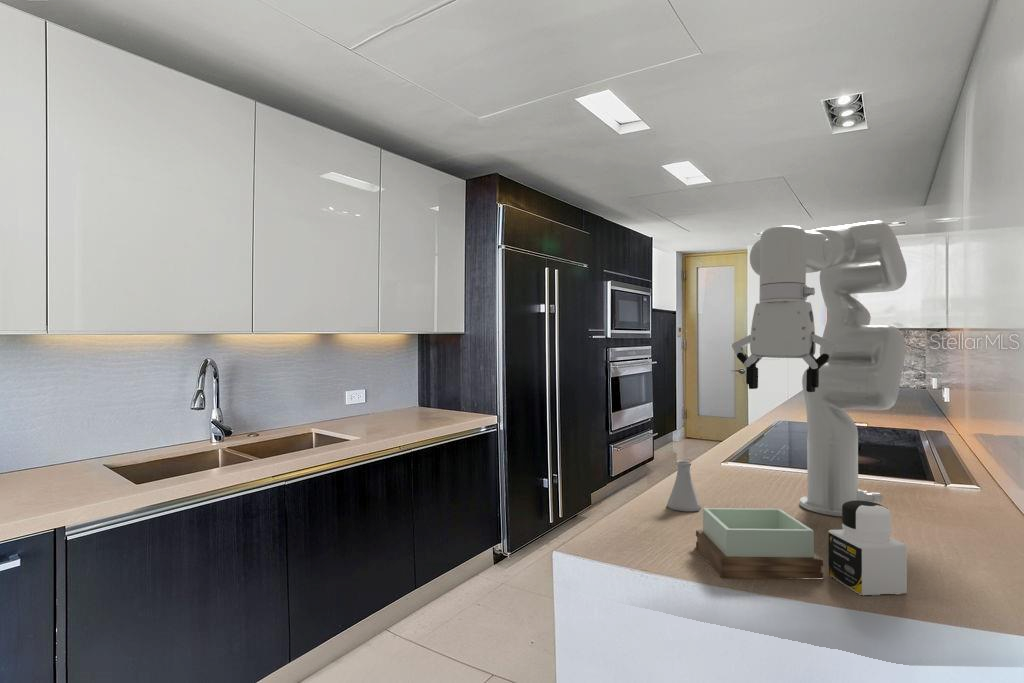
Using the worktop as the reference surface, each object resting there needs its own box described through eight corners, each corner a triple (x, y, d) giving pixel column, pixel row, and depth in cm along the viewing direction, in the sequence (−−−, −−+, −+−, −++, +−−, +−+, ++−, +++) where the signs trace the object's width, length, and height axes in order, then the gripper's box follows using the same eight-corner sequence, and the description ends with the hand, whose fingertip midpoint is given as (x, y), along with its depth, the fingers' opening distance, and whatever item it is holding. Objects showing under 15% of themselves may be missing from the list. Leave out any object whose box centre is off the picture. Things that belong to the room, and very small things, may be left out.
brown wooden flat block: (783, 548, 95) (783, 531, 95) (823, 579, 82) (823, 559, 82) (695, 547, 96) (695, 530, 96) (721, 578, 83) (721, 558, 83)
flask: (703, 513, 115) (703, 466, 115) (667, 511, 116) (667, 464, 116) (698, 504, 122) (698, 459, 122) (665, 502, 123) (665, 458, 123)
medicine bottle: (827, 575, 84) (827, 497, 84) (871, 573, 84) (870, 496, 85) (861, 596, 77) (860, 511, 77) (908, 595, 77) (907, 510, 77)
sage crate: (779, 532, 94) (779, 508, 94) (813, 557, 83) (813, 530, 83) (703, 531, 95) (702, 508, 95) (726, 556, 84) (726, 529, 84)
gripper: (841, 295, 96) (840, 392, 95) (740, 300, 107) (739, 387, 107) (831, 290, 90) (831, 393, 90) (726, 296, 102) (725, 388, 101)
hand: (781, 390), depth 98 cm, fingers open, 9 cm apart
